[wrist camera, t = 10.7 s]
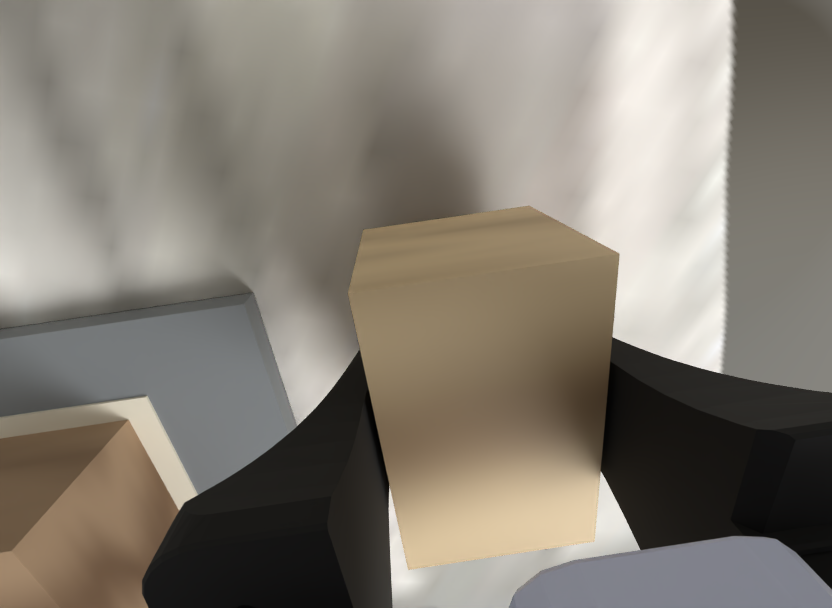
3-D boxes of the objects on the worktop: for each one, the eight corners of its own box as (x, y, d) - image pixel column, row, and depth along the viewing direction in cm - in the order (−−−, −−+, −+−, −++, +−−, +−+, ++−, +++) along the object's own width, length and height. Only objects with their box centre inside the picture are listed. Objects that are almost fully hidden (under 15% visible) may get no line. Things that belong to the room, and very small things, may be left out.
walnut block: (204, 556, 18) (142, 701, 13) (95, 572, 18) (-5, 723, 13) (128, 419, 15) (11, 550, 10) (-5, 439, 15) (-184, 580, 10)
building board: (343, 570, 21) (342, 592, 20) (41, 615, 21) (24, 640, 20) (253, 292, 14) (242, 305, 13) (-193, 357, 14) (-238, 374, 13)
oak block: (531, 416, 15) (594, 541, 10) (401, 435, 15) (408, 570, 10) (529, 205, 12) (619, 254, 7) (363, 229, 12) (348, 293, 7)
